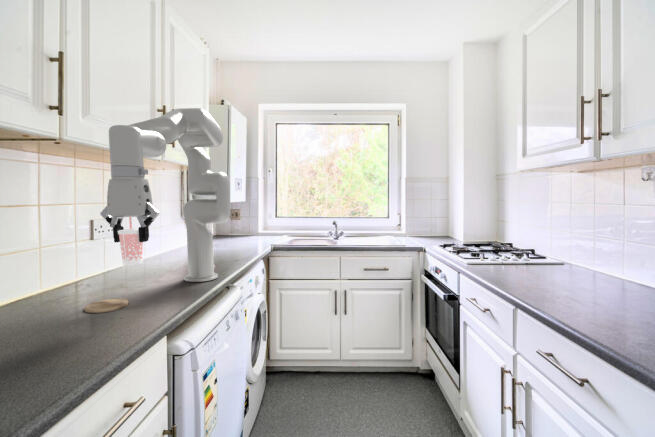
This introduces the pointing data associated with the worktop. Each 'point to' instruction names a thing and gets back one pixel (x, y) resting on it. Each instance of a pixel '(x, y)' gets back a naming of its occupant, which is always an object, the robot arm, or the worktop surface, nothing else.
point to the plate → (106, 305)
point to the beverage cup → (130, 246)
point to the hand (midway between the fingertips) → (131, 241)
